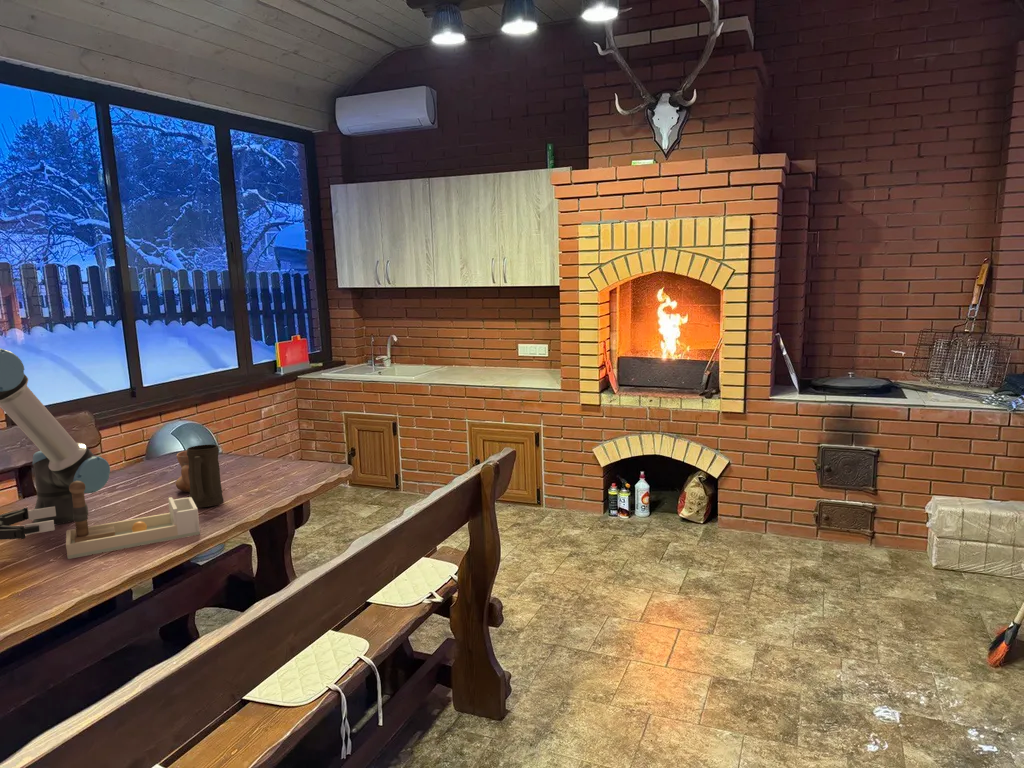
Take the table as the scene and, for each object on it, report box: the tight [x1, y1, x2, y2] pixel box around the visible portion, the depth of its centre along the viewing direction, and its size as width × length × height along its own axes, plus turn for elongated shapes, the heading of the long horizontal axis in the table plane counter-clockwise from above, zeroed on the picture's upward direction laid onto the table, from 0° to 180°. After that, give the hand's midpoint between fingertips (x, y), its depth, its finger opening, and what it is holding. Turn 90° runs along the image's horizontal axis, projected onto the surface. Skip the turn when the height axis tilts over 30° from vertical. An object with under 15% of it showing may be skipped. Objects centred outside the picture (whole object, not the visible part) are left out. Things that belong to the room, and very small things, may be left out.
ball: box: [132, 521, 147, 532], centre depth 212 cm, size 4×4×4 cm
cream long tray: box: [65, 496, 201, 560], centre depth 211 cm, size 14×34×9 cm, turn 121°
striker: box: [69, 481, 115, 543], centre depth 205 cm, size 5×10×19 cm, turn 121°
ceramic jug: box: [175, 449, 190, 493], centre depth 258 cm, size 18×14×14 cm
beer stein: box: [186, 444, 225, 508], centre depth 239 cm, size 15×11×20 cm
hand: (54, 517), depth 200 cm, fingers open, 13 cm apart
